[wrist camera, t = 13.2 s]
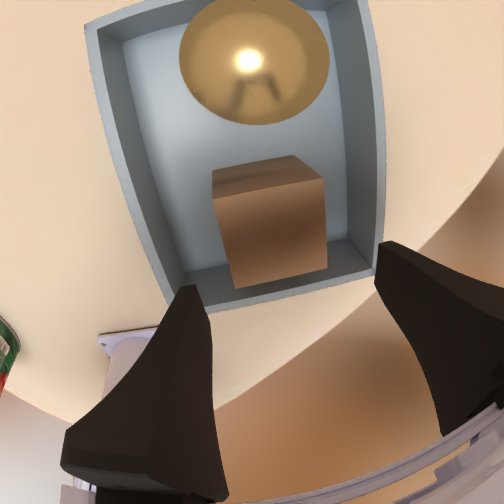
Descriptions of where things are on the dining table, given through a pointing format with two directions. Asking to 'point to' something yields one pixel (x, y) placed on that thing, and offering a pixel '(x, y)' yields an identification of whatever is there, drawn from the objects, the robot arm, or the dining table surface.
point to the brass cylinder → (254, 60)
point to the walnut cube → (271, 219)
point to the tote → (237, 147)
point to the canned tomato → (7, 350)
